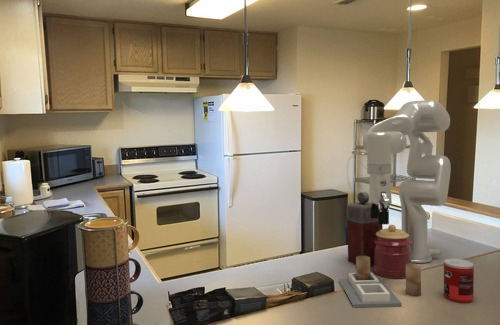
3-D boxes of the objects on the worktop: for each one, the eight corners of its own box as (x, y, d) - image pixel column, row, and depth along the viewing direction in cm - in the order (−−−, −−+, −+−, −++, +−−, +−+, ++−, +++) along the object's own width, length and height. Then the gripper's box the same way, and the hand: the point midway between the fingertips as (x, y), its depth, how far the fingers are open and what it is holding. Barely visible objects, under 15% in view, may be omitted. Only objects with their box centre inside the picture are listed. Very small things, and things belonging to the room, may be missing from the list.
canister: (387, 281, 134) (387, 230, 132) (366, 269, 146) (366, 222, 145) (419, 276, 137) (419, 226, 136) (396, 265, 150) (396, 219, 148)
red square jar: (385, 263, 152) (384, 191, 150) (362, 268, 147) (361, 194, 146) (370, 257, 160) (369, 189, 158) (347, 261, 156) (346, 191, 154)
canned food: (447, 290, 124) (447, 256, 123) (475, 296, 119) (476, 261, 118) (440, 299, 118) (440, 263, 117) (470, 305, 113) (471, 268, 112)
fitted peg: (368, 281, 131) (367, 255, 130) (372, 286, 127) (371, 259, 126) (355, 282, 131) (354, 255, 130) (358, 287, 127) (358, 259, 126)
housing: (379, 281, 134) (379, 271, 134) (401, 306, 114) (401, 294, 114) (339, 282, 134) (338, 272, 134) (353, 307, 114) (353, 296, 114)
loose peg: (417, 290, 125) (417, 263, 124) (423, 296, 120) (423, 267, 120) (403, 291, 125) (403, 263, 124) (409, 296, 120) (408, 268, 120)
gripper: (399, 171, 120) (399, 226, 121) (383, 167, 137) (383, 215, 138) (374, 172, 120) (374, 227, 121) (361, 168, 137) (362, 216, 138)
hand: (379, 221), depth 129 cm, fingers open, 9 cm apart
